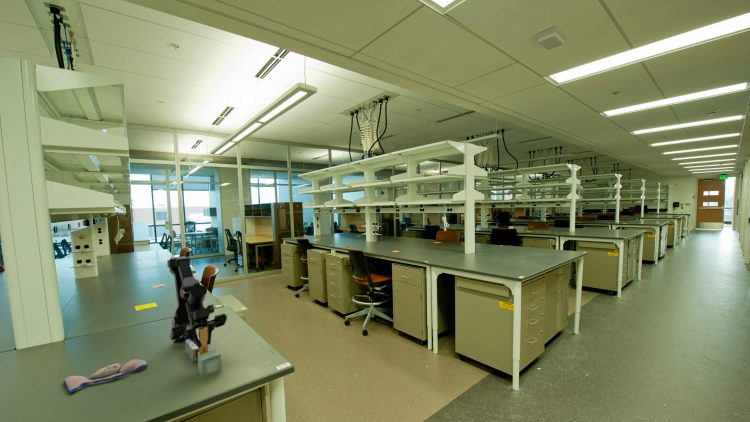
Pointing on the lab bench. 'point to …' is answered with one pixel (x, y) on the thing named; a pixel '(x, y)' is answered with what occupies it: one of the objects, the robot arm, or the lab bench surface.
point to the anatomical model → (104, 374)
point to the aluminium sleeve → (191, 349)
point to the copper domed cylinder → (203, 341)
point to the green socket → (209, 363)
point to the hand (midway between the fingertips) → (204, 345)
